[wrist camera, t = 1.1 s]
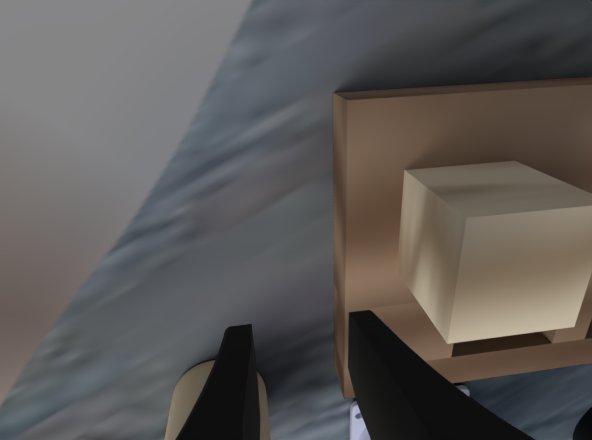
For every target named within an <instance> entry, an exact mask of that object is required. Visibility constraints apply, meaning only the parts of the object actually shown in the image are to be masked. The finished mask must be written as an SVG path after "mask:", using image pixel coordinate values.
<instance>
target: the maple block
mask: <svg viewBox="0 0 592 440" xmlns="http://www.w3.org/2000/svg"><path fill="white" fill-rule="evenodd" d="M397 272H398V273H399V275H400V276H401V278H402V279H403V281H404V282H405V283H406V285H407V286H408V288H409V289H410V291H411V292H412V294H413V295H414V296H415V298H416V299H417V301H418V302H419V304H420V305H421V307H422V308H423V309H424V311H425V312H426V314H427V315H428V317H429V318H430V320H431V321H432V322H433V324H434V325H435V327H436V328H437V330H438V331H439V333H440V334H441V335H442V337H443V338H444V340H445V341H446V343H447V344H450V343H458V342H465V341H473V340H480V339H488V338H495V337H503V336H510V335H518V334H525V333H533V332H540V331H548V330H555V329H563V328H570V327H574V326H575V323H576V320H577V317H578V314H579V311H580V308H581V304H582V301H583V298H584V295H585V292H586V289H587V286H588V283H589V279H590V276H591V273H592V194H591V193H589V192H586V191H584V190H582V189H579V188H577V187H575V186H572V185H570V184H568V183H565V182H563V181H561V180H558V179H556V178H554V177H551V176H549V175H547V174H544V173H542V172H540V171H537V170H535V169H533V168H531V167H528V166H526V165H524V164H521V163H519V162H517V161H506V162H494V163H482V164H470V165H458V166H447V167H435V168H423V169H411V170H404V183H403V196H402V209H401V223H400V236H399V249H398V263H397Z"/></svg>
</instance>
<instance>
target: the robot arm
mask: <svg viewBox="0 0 592 440" xmlns="http://www.w3.org/2000/svg"><path fill="white" fill-rule="evenodd" d="M348 371H349V375H350V379H351V382H352V386H353V390H354V394H355V398H356V401H354V402H353V403H352V404H351V407H350V440H535V439H533V438H532V437H530V436H528V435H527V434H525V433H523V432H522V431H520V430H518V429H517V428H515V427H513V426H512V425H510V424H509V423H507V422H506V421H504V420H502V419H501V418H499V417H498V416H496V415H495V414H493V413H492V412H490V411H489V410H488V409H486V408H485V407H483V406H482V405H480V404H479V403H478V402H476V401H475V400H473V399H472V398H470V397H469V395H470V391H469V390H468V388H467V387H466V386H464V385H459V386H454V385H453V384H452V383H451V382H449V381H448V380H447V379H446V378H444V377H443V376H442V375H441V374H440V373H438V372H437V371H436V370H435V369H434V368H432V367H431V366H430V365H429V364H428V363H427V362H425V361H424V360H423V359H422V358H421V357H420V356H419V355H418V354H416V353H415V352H414V351H413V350H412V349H411V348H410V347H409V346H408V345H407V344H405V343H404V342H403V341H402V340H401V339H400V338H399V337H398V336H397V335H396V334H395V333H394V332H393V331H392V330H391V329H390V328H389V327H388V326H387V325H386V324H385V323H384V322H383V321H382V320H381V319H380V318H379V317H378V316H377V315H376V314H375V313H374V312H372V311H371V310H363V311H355V312H349V327H348ZM175 440H260V403H259V389H258V377H257V368H256V359H255V351H254V342H253V333H252V324H248V325H240V326H232V327H228V328H227V329H226V330H225V333H224V337H223V340H222V343H221V346H220V349H219V352H218V355H217V357H216V360H215V362H214V365H213V367H212V369H211V372H210V374H209V376H208V378H207V380H206V383H205V385H204V387H203V389H202V391H201V393H200V395H199V397H198V399H197V401H196V403H195V405H194V407H193V409H192V411H191V412H190V414H189V416H188V418H187V420H186V422H185V424H184V425H183V427H182V429H181V431H180V432H179V434H178V436H177V437H176V439H175Z"/></svg>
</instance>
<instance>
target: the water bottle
mask: <svg viewBox="0 0 592 440" xmlns="http://www.w3.org/2000/svg"><path fill="white" fill-rule="evenodd" d="M573 440H592V408H591V409H590V410H589V411H588V412H587V413H586V414H585V415H584V416H583V417H582V419H581V420H580V421H579V423H578V425H577V427H576V429H575V431H574V434H573Z"/></svg>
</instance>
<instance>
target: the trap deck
mask: <svg viewBox="0 0 592 440" xmlns="http://www.w3.org/2000/svg"><path fill="white" fill-rule="evenodd" d="M333 153H334V366H335V370H336V373H337V376H338V380H339V383H340V387H341V390H342V393H343V397H344V399H347V398H354V397H355V394H354V390H353V386H352V382H351V379H350V375H349V371H348V327H349V312H355V311H363V310H371V311H372V312H374V313H375V314H376V315H377V316H378V317H379V318H380V319H381V320H382V321H383V322H384V323H385V324H386V325H387V326H388V327H389V328H390V329H391V330H392V331H393V332H394V333H395V334H396V335H397V336H398V337H399V338H400V339H401V340H402V341H403V342H404V343H405V344H407V345H408V346H409V347H410V348H411V349H412V350H413V351H414V352H415V353H416V354H418V355H419V356H420V357H421V358H422V359H423V360H424V361H425V362H427V363H428V364H429V365H430V366H431V367H432V368H434V369H435V370H436V371H437V372H438V373H440V374H441V375H442V376H443V377H444V378H446V379H447V380H448V381H449V382H451V383H458V382H465V381H471V380H478V379H485V378H492V377H499V376H506V375H513V374H520V373H527V372H534V371H541V370H548V369H554V368H561V367H568V366H575V365H582V364H589V363H592V273H591V276H590V279H589V283H588V286H587V289H586V292H585V295H584V298H583V301H582V304H581V308H580V311H579V314H578V317H577V320H576V323H575V326H574V327H570V328H563V329H555V330H548V331H540V332H533V333H525V334H518V335H510V336H503V337H495V338H488V339H480V340H473V341H465V342H458V343H450V344H447V343H446V341H445V340H444V338H443V337H442V335H441V334H440V333H439V331H438V330H437V328H436V327H435V325H434V324H433V322H432V321H431V320H430V318H429V317H428V315H427V314H426V312H425V311H424V309H423V308H422V307H421V305H420V304H419V302H418V301H417V299H416V298H415V296H414V295H413V294H412V292H411V291H410V289H409V288H408V286H407V285H406V283H405V282H404V281H403V279H402V278H401V276H400V275H399V273H398V272H397V263H398V249H399V236H400V223H401V209H402V196H403V183H404V170H411V169H423V168H435V167H447V166H458V165H470V164H482V163H494V162H506V161H517V162H519V163H521V164H524V165H526V166H528V167H531V168H533V169H535V170H537V171H540V172H542V173H544V174H547V175H549V176H551V177H554V178H556V179H558V180H561V181H563V182H565V183H568V184H570V185H572V186H575V187H577V188H579V189H582V190H584V191H586V192H589V193H591V194H592V77H577V78H561V79H545V80H529V81H513V82H497V83H481V84H465V85H449V86H433V87H417V88H401V89H385V90H369V91H353V92H337V93H333Z"/></svg>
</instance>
